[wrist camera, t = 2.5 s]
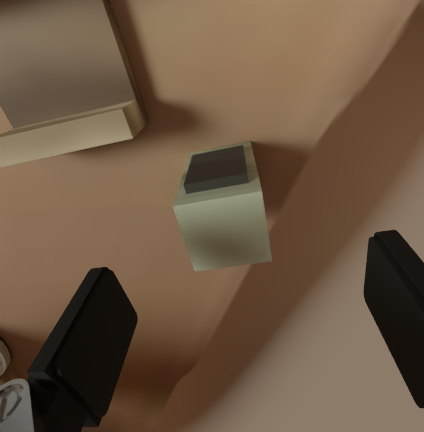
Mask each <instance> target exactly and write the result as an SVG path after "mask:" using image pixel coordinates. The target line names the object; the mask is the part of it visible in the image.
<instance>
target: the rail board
mask: <svg viewBox="0 0 424 432" xmlns="http://www.w3.org/2000/svg"><path fill="white" fill-rule="evenodd" d="M0 106H1V108H2V109H3V111H4V113H5V114H6V116H7V118H8V120H9V121H10V123H11V125H12V126H13V128H14V129H12V130H10V131H8V132H5V133H3V134H0V167H4V166H8V165H13V164H18V163H22V162H27V161H31V160H36V159H41V158H45V157H50V156H54V155H59V154H64V153H68V152H73V151H78V150H82V149H87V148H91V147H96V146H101V145H105V144H110V143H114V142H119V141H124V140H128V139H133V138H134V137H135V136H136V135H137V134H138V133H139V132H140V131H141V130H142V129H143V128H144V126H145V125H146V124H147V123H148V122H149V120H148V117H147V114H146V111H145V108H144V105H143V102H142V99H141V96H140V93H139V90H138V87H137V84H136V81H135V78H134V75H133V72H132V69H131V66H130V63H129V60H128V57H127V54H126V51H125V48H124V45H123V42H122V39H121V36H120V33H119V30H118V27H117V23H116V20H115V17H114V14H113V11H112V8H111V5H110V2H109V0H0Z"/></svg>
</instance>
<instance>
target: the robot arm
mask: <svg viewBox="0 0 424 432" xmlns="http://www.w3.org/2000/svg"><path fill="white" fill-rule="evenodd" d="M364 298H365V302H366V304H367V306H368V308H369V310H370V312H371V314H372V316H373V317H374V320H375V322H376V324H377V326H378V328H379V330H380V332H381V334H382V336H383V338H384V340H385V342H386V344H387V346H388V348H389V350H390V352H391V354H392V356H393V358H394V360H395V363H396V364H397V366H398V369H399V371H400V373H401V375H402V377H403V379H404V381H405V383H406V385H407V386H408V389H409V391H410V393H411V395H412V397H413V399H414V401H415V403H416V404H417V405H418V407H419V408H424V263H423V261H422V260H421V259H420V258H419V256H418V255H417V254H416V253H415V252H414V251H413V249H412V248H411V247H410V246H409V244H408V243H407V242H406V241H405V240H404V238H403V237H402V236H401V235H400V234H399V233H398V232H397V231H396V230H390V231H382V232H376V233H375V234H374V237H370V238H369V243H368V252H367V263H366V273H365V283H364ZM136 325H137V314H136V312H135V310H134V308H133V306H132V304H131V303H130V301H129V299H128V297H127V295H126V294H125V292H124V290H123V288H122V286H121V285H120V283H119V281H118V279H117V277H116V276H115V274H114V272H113V271H112V270H109V269H108V268H107V267H101V268H93V269H91V270H90V271H89V272H88V273H87V275H86V277H85V278H84V280H83V282H82V283H81V285H80V286H79V288H78V290H77V291H76V293H75V295H74V296H73V298H72V300H71V301H70V303H69V304H68V306H67V308H66V309H65V311H64V313H63V314H62V316H61V317H60V319H59V321H58V322H57V324H56V326H55V327H54V329H53V331H52V332H51V334H50V335H49V337H48V339H47V340H46V342H45V344H44V345H43V347H42V348H41V350H40V352H39V353H38V355H37V357H36V358H35V360H34V362H33V363H32V365H31V366H30V368H29V370H28V371H27V373H28V374H29V375H30V376H29V377H28V379H27V381H26V380H24V379H14V380H11V381H9V382H7V383H5V384H3V385H2V386H0V432H81V429H82V427H83V426H84V427H99V424H100V421H101V419H102V417H103V416H104V415H105V414H106V413H107V411H108V408H109V405H110V402H111V399H112V396H113V393H114V390H115V387H116V384H117V381H118V378H119V375H120V372H121V369H122V366H123V363H124V360H125V357H126V354H127V351H128V348H129V345H130V342H131V339H132V336H133V334H134V331H135V328H136ZM9 363H10V354H9V351H8V349H7V347H6V346H5V344H4V343H3V342H2V341H1V340H0V376H1V375H2V374H3V373H4V371H5V370H6V368H7V367H8V365H9Z"/></svg>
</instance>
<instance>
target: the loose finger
mask: <svg viewBox="0 0 424 432" xmlns="http://www.w3.org/2000/svg"><path fill="white" fill-rule="evenodd" d="M173 209H174V212H175V215H176V218H177V221H178V223H179V226H180V229H181V232H182V235H183V238H184V241H185V244H186V247H187V250H188V253H189V256H190V259H191V262H192V265H193V268H194V270H195V271H202V270H209V269H217V268H224V267H232V266H239V265H247V264H254V263H261V262H268V261H272V258H271V251H270V244H269V237H268V230H267V223H266V216H265V209H264V202H263V194H262V189H261V184H260V180H259V176H258V171H257V167H256V163H255V158H254V154H253V150H252V145H251V141H248V142H243V143H238V144H233V145H228V146H223V147H218V148H213V149H208V150H203V151H198V152H193V153H190V155H189V158H188V161H187V164H186V168H185V171H184V174H183V177H182V180H181V183H180V186H179V189H178V192H177V195H176V198H175V201H174V204H173Z"/></svg>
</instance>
